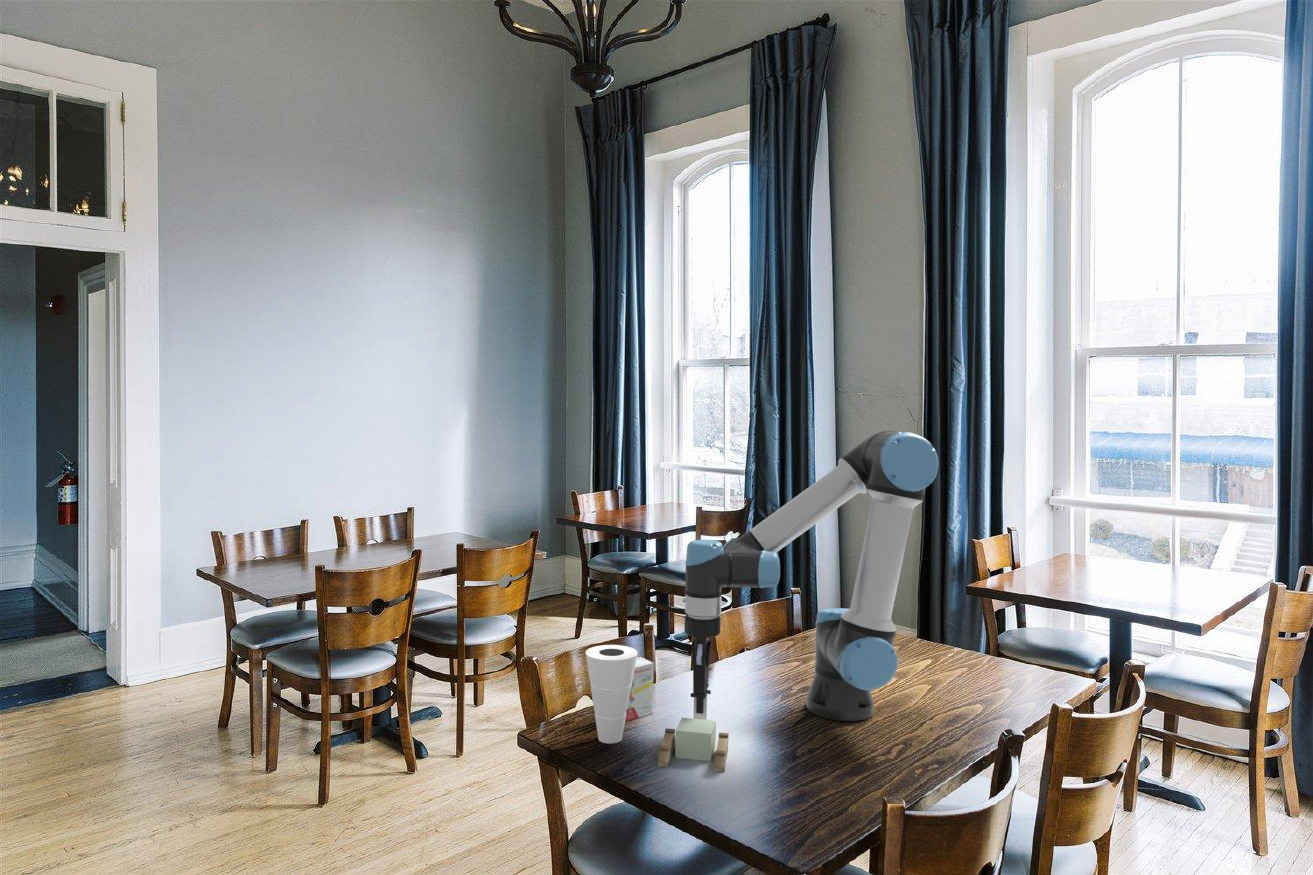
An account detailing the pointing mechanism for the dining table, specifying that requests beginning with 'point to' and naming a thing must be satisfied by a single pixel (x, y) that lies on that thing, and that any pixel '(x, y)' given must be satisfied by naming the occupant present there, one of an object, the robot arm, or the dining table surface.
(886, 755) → the dining table surface
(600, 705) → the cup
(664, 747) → the light wood low frame
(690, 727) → the block
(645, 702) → the ink box
